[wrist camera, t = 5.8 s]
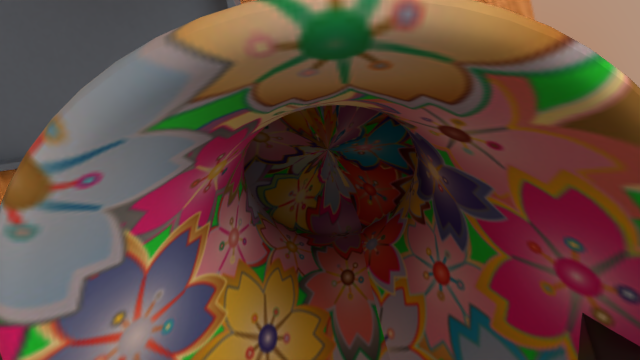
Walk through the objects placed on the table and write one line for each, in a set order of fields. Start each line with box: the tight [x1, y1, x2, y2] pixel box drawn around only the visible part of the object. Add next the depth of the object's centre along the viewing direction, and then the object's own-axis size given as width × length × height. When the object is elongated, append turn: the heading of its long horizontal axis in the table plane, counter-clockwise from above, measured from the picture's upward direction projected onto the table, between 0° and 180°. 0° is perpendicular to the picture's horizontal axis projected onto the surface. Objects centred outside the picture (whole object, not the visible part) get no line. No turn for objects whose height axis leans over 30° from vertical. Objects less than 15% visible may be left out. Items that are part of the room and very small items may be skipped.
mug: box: [0, 0, 640, 360], centre depth 10 cm, size 12×9×11 cm
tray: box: [0, 0, 241, 171], centre depth 26 cm, size 27×17×2 cm, turn 98°
